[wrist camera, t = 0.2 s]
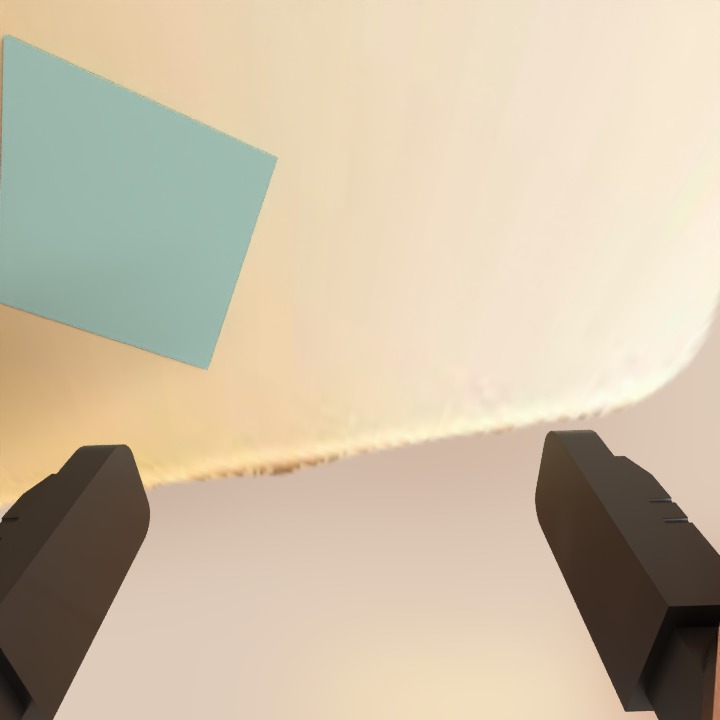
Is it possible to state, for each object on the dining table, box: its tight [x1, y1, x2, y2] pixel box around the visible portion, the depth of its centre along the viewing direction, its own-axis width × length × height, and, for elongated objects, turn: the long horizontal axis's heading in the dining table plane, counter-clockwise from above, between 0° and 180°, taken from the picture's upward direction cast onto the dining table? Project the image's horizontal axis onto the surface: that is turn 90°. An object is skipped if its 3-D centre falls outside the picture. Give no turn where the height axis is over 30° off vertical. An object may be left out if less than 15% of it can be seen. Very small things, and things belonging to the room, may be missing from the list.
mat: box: [0, 35, 277, 370], centre depth 29 cm, size 16×14×1 cm
